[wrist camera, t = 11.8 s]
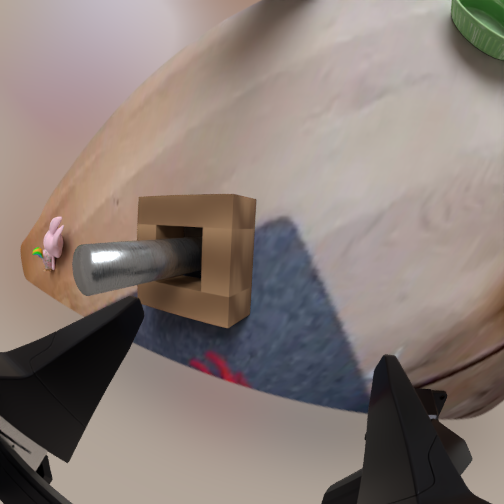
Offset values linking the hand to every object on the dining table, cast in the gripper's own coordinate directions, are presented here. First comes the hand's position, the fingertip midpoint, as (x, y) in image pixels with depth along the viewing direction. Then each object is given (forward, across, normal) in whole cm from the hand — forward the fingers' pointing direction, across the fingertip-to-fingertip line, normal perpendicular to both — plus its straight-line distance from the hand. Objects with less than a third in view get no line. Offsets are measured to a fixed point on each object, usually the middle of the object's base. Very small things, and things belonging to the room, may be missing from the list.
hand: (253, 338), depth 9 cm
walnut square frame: (+14, +8, +7) cm, 17 cm away
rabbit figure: (+18, +38, +14) cm, 44 cm away
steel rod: (+14, +8, +7) cm, 17 cm away
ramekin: (+21, -18, -21) cm, 34 cm away
